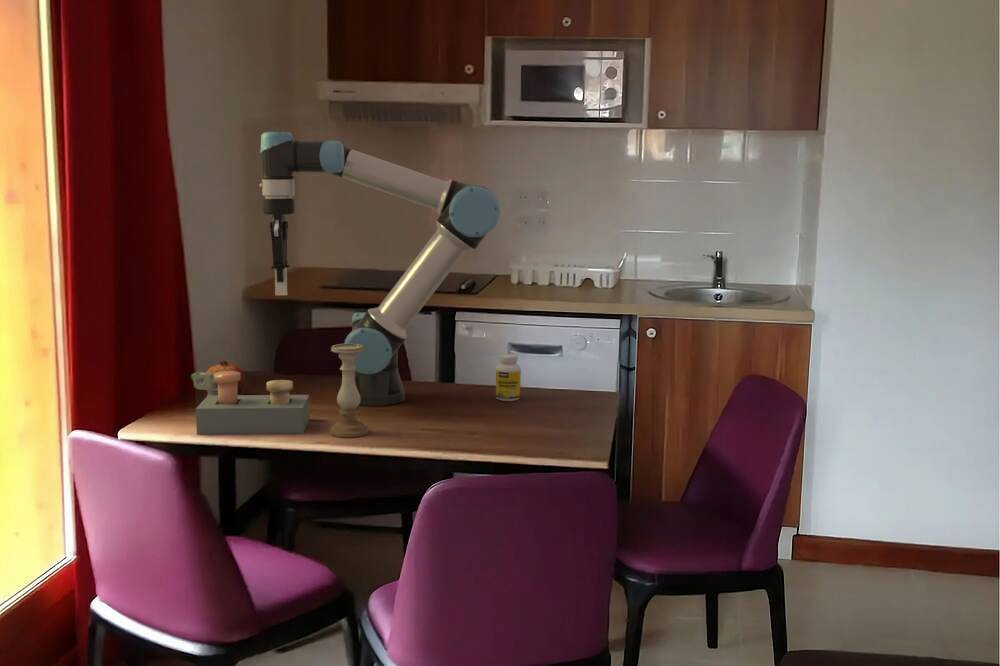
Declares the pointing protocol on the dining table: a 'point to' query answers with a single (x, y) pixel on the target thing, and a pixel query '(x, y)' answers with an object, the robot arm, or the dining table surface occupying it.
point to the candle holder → (348, 394)
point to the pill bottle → (508, 378)
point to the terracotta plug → (227, 386)
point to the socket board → (252, 415)
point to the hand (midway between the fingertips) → (281, 294)
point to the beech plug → (279, 391)
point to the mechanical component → (205, 382)
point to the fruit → (228, 367)
